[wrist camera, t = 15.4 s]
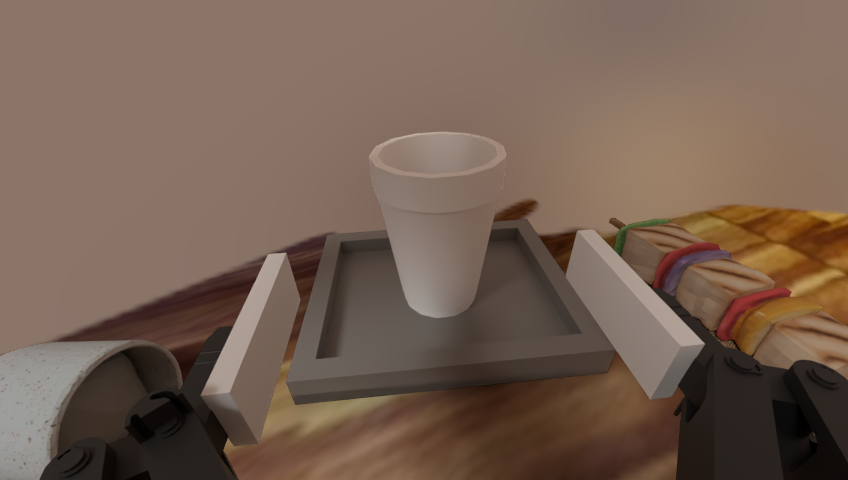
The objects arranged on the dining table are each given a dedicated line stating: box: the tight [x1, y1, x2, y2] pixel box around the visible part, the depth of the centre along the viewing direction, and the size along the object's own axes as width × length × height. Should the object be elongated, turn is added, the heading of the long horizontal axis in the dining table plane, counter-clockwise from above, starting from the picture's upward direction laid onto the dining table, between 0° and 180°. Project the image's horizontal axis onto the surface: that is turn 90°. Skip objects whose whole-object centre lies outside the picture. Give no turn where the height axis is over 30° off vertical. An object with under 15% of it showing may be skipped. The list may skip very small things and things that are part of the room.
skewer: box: [609, 218, 848, 380], centre depth 30 cm, size 21×6×5 cm, turn 15°
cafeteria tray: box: [286, 219, 616, 405], centre depth 31 cm, size 22×18×2 cm
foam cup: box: [369, 132, 507, 318], centre depth 27 cm, size 10×9×13 cm
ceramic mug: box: [0, 340, 183, 480], centre depth 19 cm, size 11×8×8 cm
